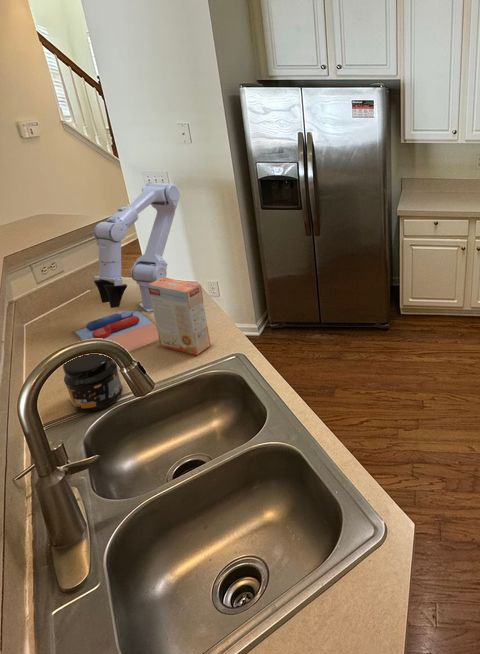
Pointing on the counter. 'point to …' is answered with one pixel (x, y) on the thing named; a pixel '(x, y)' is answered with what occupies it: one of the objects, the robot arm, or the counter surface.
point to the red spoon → (115, 327)
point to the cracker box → (179, 315)
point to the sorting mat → (129, 333)
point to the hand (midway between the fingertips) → (110, 304)
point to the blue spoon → (108, 320)
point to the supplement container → (92, 382)
